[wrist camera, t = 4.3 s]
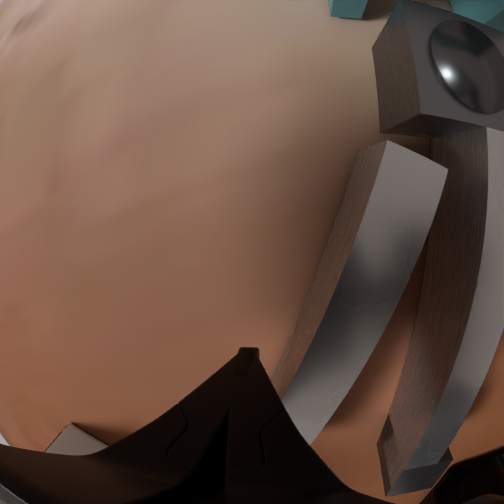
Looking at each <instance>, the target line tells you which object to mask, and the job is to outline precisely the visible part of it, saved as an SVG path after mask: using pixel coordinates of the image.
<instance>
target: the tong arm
mask: <svg viewBox="0 0 504 504" xmlns="http://www.w3.org/2000/svg"><path fill="white" fill-rule="evenodd" d="M448 170H449V169H447V168H445V167H443V166H441V165H439V164H437V163H435V162H433V161H432V160H430V159H428V158H426V157H424V156H422V155H419V154H417V153H415V152H413V151H411V150H409V149H407V148H405V147H403V146H400V145H398V144H396V143H394V142H391V141H389V140H386V141H383V142H381V143H378V144H375V145H373V146H370V147H367V148H365V149H362V150H359V151H358V154H357V157H356V161H355V164H354V167H353V170H352V173H351V176H350V180H349V183H348V186H347V189H346V192H345V195H344V198H343V201H342V204H341V207H340V210H339V212H338V215H337V218H336V221H335V224H334V227H333V230H332V232H331V235H330V238H329V241H328V243H327V246H326V249H325V251H324V254H323V257H322V259H321V262H320V265H319V267H318V270H317V272H316V275H315V278H314V280H313V283H312V285H311V288H310V290H309V293H308V295H307V298H306V300H305V303H304V305H303V307H302V310H301V312H300V315H299V317H298V319H297V322H296V324H295V326H294V329H293V331H292V333H291V336H290V338H289V340H288V343H287V345H286V347H285V349H284V352H283V354H282V356H281V358H280V361H279V363H278V365H277V367H276V369H275V372H274V374H273V376H272V378H271V382H272V384H273V386H274V388H275V390H276V392H277V394H278V395H279V397H280V399H281V401H282V403H283V405H284V407H285V408H286V411H287V412H288V414H289V415H290V417H291V419H292V421H293V422H294V424H295V426H296V427H297V429H298V430H299V432H300V433H301V435H302V436H303V437H304V439H305V440H306V441H307V443H308V444H309V445H310V444H311V443H312V442H313V441H314V439H315V438H316V437H317V435H318V434H319V433H320V431H321V430H322V429H323V427H324V426H325V425H326V423H327V422H328V421H329V419H330V418H331V416H332V415H333V414H334V412H335V411H336V409H337V408H338V406H339V405H340V403H341V402H342V400H343V399H344V397H345V396H346V394H347V393H348V391H349V390H350V388H351V387H352V385H353V384H354V382H355V380H356V379H357V377H358V376H359V374H360V372H361V371H362V369H363V367H364V366H365V364H366V362H367V361H368V359H369V357H370V356H371V354H372V352H373V350H374V349H375V347H376V345H377V343H378V341H379V340H380V338H381V336H382V334H383V332H384V330H385V329H386V327H387V325H388V323H389V321H390V319H391V317H392V315H393V313H394V311H395V309H396V307H397V305H398V303H399V301H400V299H401V297H402V294H403V292H404V290H405V288H406V286H407V284H408V281H409V279H410V277H411V275H412V272H413V270H414V268H415V265H416V263H417V260H418V258H419V256H420V253H421V251H422V248H423V245H424V243H425V240H426V238H427V235H428V232H429V230H430V227H431V224H432V221H433V218H434V215H435V212H436V209H437V206H438V203H439V200H440V197H441V194H442V191H443V187H444V184H445V180H446V177H447V173H448Z"/></svg>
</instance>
